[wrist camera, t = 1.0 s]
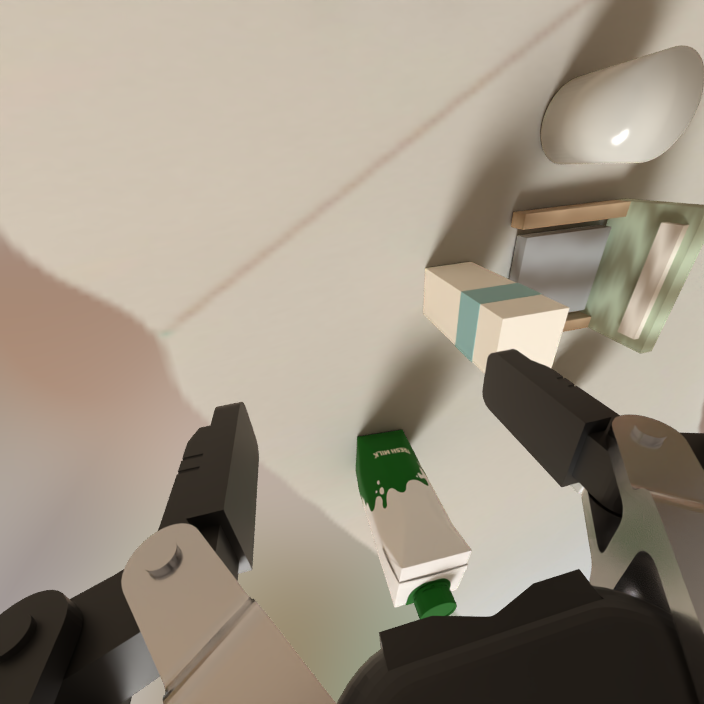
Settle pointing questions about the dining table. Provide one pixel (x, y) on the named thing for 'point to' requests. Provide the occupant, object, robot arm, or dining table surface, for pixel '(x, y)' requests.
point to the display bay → (611, 263)
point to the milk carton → (409, 525)
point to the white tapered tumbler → (624, 110)
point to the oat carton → (492, 313)
